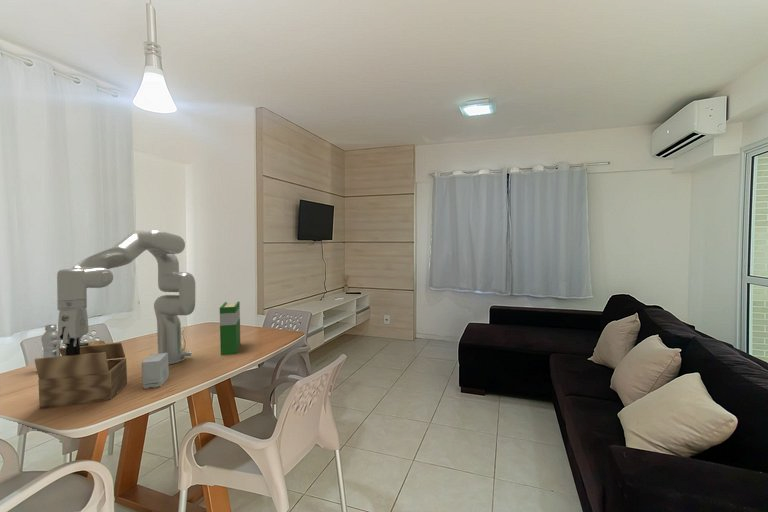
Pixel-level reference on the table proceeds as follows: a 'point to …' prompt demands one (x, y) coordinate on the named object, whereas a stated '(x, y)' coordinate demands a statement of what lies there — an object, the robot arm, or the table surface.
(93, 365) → the left flap
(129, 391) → the table surface
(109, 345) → the right flap
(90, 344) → the bread roll
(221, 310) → the hardback book
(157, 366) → the skincare box
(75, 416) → the table surface
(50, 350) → the plastic bottle
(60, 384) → the carton
